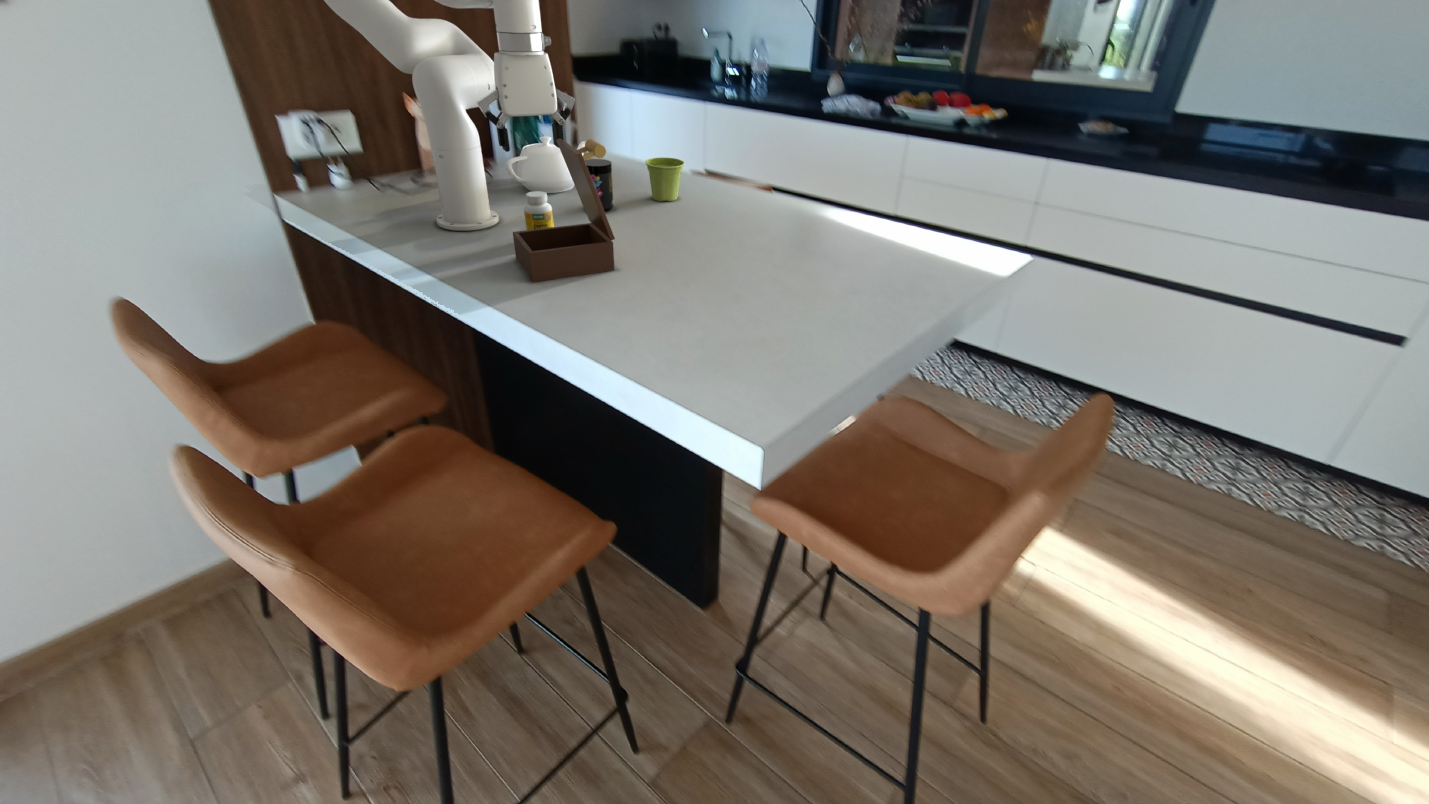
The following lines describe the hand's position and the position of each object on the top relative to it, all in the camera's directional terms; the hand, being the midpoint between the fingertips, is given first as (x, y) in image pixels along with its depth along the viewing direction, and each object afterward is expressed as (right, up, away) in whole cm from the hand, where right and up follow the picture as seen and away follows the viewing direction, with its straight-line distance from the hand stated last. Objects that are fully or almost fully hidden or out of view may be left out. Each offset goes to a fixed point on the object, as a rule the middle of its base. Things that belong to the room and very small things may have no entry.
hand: (532, 148), depth 123 cm
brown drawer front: (+11, -10, -5) cm, 15 cm away
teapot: (-7, +7, +44) cm, 45 cm away
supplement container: (+7, -3, +30) cm, 31 cm away
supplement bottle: (-1, -15, +10) cm, 18 cm away
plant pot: (+22, +3, +39) cm, 45 cm away
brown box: (+6, -22, 0) cm, 23 cm away
